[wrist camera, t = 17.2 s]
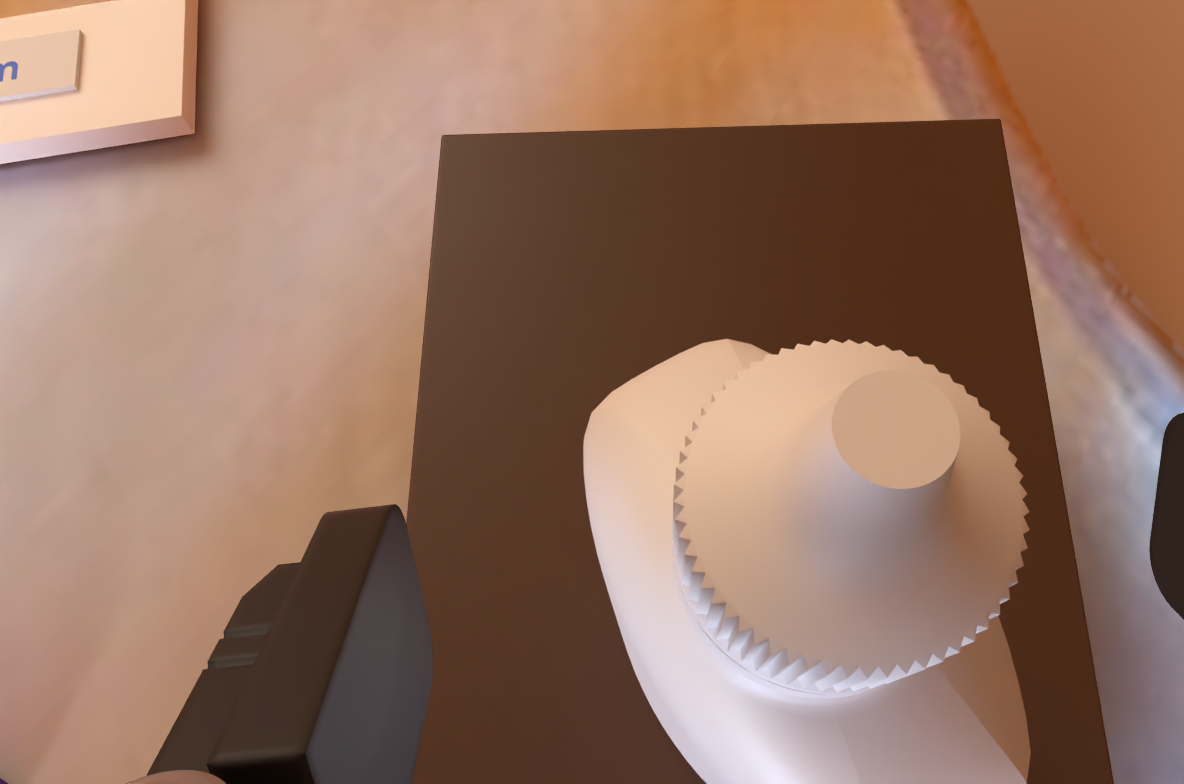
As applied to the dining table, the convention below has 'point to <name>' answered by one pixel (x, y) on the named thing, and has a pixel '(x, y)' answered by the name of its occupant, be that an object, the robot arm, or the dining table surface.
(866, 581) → the eye dropper bottle
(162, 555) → the dining table surface
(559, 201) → the board stand
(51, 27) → the photo frame
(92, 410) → the dining table surface
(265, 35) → the dining table surface
